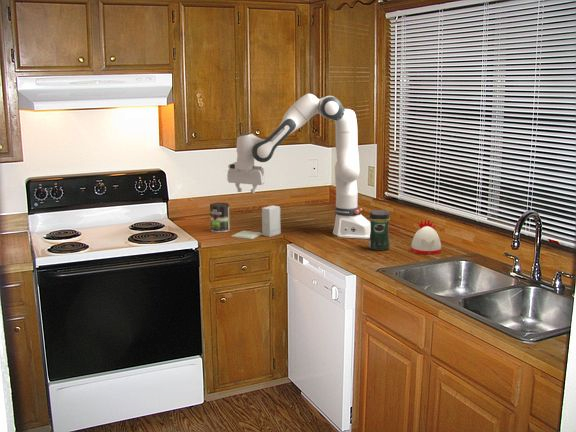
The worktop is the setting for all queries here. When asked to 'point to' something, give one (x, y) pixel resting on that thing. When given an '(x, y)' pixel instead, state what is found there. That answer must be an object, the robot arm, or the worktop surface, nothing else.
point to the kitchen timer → (426, 240)
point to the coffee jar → (379, 230)
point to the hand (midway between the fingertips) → (246, 192)
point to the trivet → (247, 234)
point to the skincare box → (271, 221)
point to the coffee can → (219, 217)
